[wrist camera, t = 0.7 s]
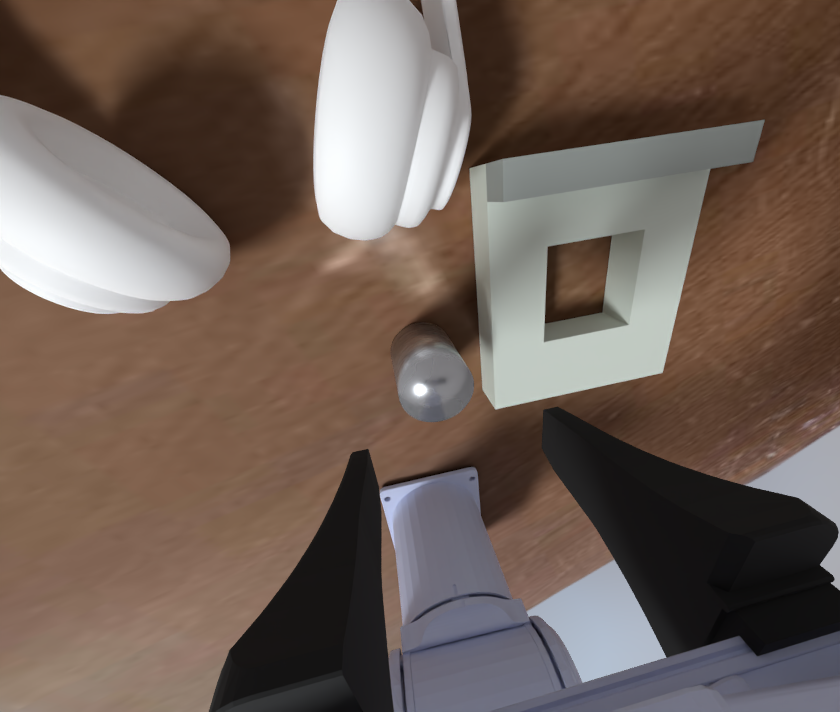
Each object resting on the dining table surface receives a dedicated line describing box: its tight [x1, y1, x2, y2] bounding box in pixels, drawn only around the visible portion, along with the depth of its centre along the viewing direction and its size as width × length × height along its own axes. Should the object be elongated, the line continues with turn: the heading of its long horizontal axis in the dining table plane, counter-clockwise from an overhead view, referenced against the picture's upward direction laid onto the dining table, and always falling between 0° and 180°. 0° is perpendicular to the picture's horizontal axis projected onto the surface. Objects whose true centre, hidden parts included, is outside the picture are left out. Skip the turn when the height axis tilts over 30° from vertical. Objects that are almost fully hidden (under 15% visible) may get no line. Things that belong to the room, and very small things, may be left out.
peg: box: [391, 322, 474, 422], centre depth 19 cm, size 4×4×5 cm
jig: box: [469, 120, 765, 409], centre depth 19 cm, size 14×12×4 cm
